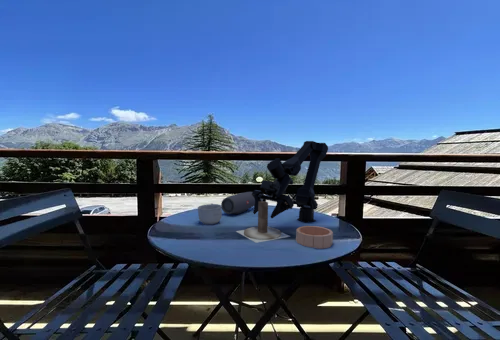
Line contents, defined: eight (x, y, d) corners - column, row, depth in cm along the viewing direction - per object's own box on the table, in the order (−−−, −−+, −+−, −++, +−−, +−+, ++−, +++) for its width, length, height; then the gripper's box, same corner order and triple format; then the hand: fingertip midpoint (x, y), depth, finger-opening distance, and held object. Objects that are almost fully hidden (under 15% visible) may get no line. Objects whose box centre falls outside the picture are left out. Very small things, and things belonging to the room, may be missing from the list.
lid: (267, 226, 131) (268, 197, 130) (288, 236, 118) (289, 203, 117) (237, 231, 124) (237, 200, 122) (256, 242, 111) (257, 207, 110)
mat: (267, 227, 132) (267, 226, 132) (290, 237, 118) (290, 236, 118) (235, 232, 124) (235, 231, 124) (256, 243, 110) (256, 242, 110)
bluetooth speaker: (235, 217, 148) (235, 197, 147) (220, 215, 153) (220, 195, 152) (258, 209, 167) (258, 191, 166) (244, 207, 172) (244, 190, 171)
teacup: (217, 227, 131) (217, 209, 130) (194, 225, 133) (194, 207, 132) (226, 219, 144) (226, 202, 144) (204, 217, 147) (204, 201, 146)
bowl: (315, 235, 121) (315, 224, 121) (339, 245, 110) (340, 233, 110) (289, 240, 115) (289, 228, 114) (312, 251, 104) (313, 238, 103)
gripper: (255, 171, 129) (236, 199, 122) (290, 175, 116) (271, 207, 109) (266, 187, 135) (249, 215, 128) (301, 193, 122) (284, 224, 115)
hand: (262, 215), depth 120 cm, fingers open, 9 cm apart
